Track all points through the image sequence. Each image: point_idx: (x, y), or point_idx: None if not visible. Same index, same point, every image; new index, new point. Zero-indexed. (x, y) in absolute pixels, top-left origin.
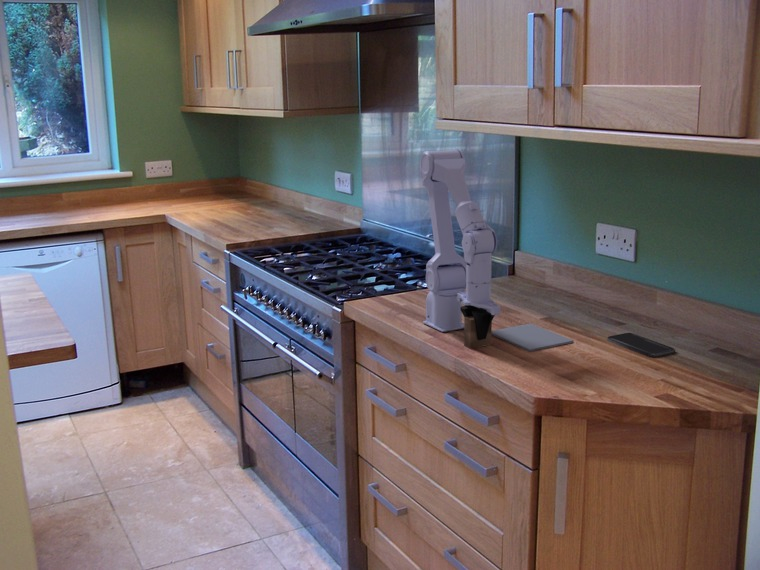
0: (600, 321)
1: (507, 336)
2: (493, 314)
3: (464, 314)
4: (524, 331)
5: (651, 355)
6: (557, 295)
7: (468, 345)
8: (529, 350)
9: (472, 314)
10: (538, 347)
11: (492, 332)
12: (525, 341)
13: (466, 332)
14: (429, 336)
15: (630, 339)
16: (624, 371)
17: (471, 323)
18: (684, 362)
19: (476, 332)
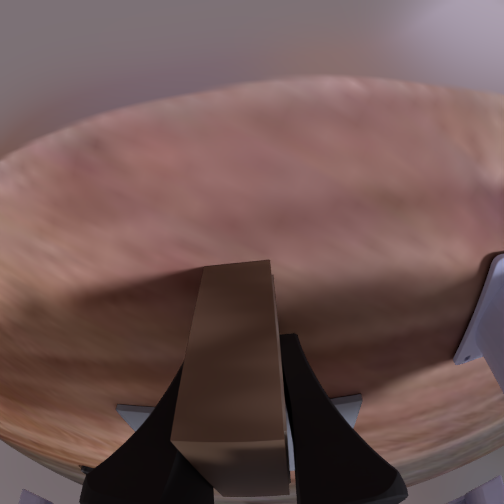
0: (279, 499)
1: None
2: (21, 493)
3: (338, 453)
4: (290, 452)
5: (81, 468)
6: (425, 477)
7: (221, 274)
8: (117, 406)
9: (296, 476)
10: (131, 427)
11: (343, 406)
12: None
13: (243, 330)
14: (500, 170)
15: None
16: (15, 420)
17: (180, 413)
18: (65, 466)
19: None
